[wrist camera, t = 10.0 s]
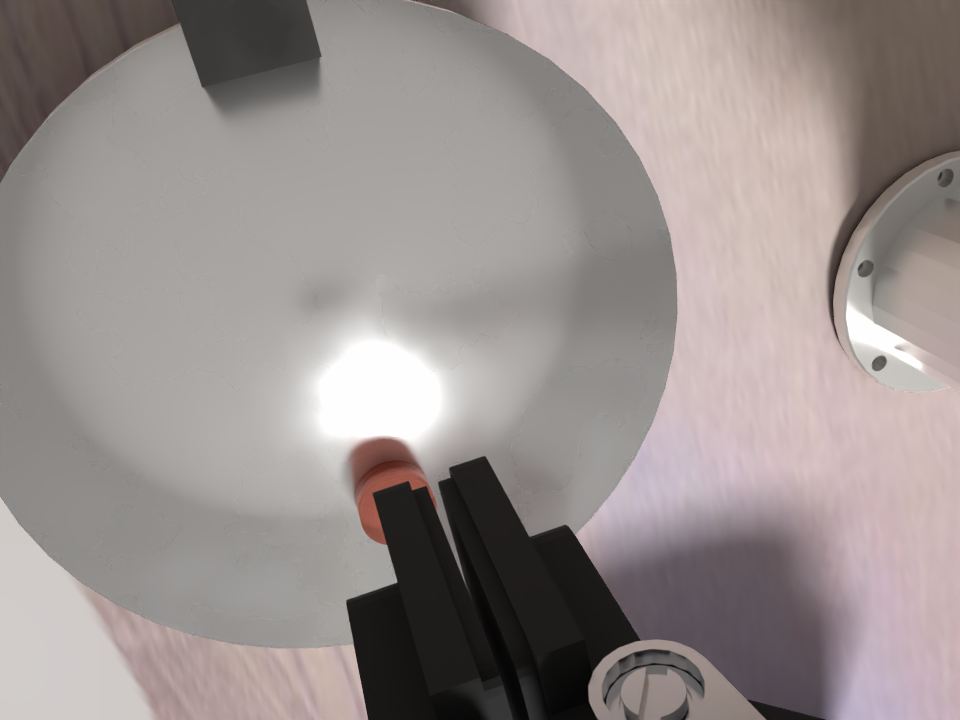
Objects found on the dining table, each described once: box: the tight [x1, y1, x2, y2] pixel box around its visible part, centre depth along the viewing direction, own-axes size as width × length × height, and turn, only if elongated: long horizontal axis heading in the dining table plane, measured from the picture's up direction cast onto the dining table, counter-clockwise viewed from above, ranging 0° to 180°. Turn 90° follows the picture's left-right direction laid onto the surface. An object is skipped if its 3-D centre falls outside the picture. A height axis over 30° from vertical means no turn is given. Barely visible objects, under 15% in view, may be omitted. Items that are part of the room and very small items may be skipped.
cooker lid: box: [0, 0, 677, 648], centre depth 26 cm, size 26×21×2 cm
